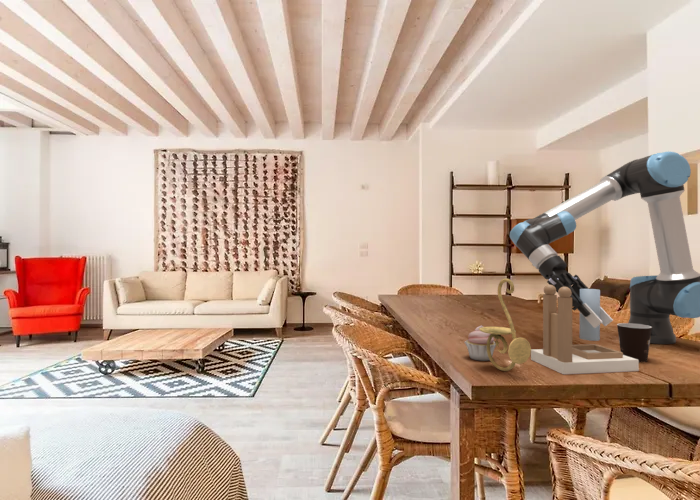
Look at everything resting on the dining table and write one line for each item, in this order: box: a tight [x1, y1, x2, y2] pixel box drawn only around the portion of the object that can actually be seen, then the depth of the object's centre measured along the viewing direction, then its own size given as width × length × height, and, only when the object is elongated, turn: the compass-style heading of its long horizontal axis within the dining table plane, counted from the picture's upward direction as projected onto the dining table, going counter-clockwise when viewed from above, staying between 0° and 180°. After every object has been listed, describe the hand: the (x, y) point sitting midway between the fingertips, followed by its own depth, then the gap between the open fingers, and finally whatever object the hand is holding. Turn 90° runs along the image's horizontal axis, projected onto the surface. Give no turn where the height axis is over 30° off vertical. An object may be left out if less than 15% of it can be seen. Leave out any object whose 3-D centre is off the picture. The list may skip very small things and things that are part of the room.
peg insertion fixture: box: [530, 284, 640, 375], centre depth 119 cm, size 22×15×23 cm
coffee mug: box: [616, 322, 652, 363], centre depth 126 cm, size 12×9×10 cm
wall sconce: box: [479, 278, 532, 372], centre depth 113 cm, size 14×10×25 cm
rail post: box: [579, 288, 601, 342], centre depth 119 cm, size 5×5×14 cm
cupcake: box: [464, 325, 497, 362], centre depth 126 cm, size 9×9×10 cm
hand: (603, 323), depth 116 cm, fingers closed on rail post, 5 cm apart
